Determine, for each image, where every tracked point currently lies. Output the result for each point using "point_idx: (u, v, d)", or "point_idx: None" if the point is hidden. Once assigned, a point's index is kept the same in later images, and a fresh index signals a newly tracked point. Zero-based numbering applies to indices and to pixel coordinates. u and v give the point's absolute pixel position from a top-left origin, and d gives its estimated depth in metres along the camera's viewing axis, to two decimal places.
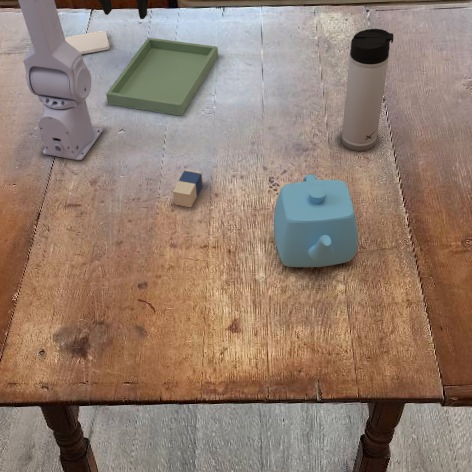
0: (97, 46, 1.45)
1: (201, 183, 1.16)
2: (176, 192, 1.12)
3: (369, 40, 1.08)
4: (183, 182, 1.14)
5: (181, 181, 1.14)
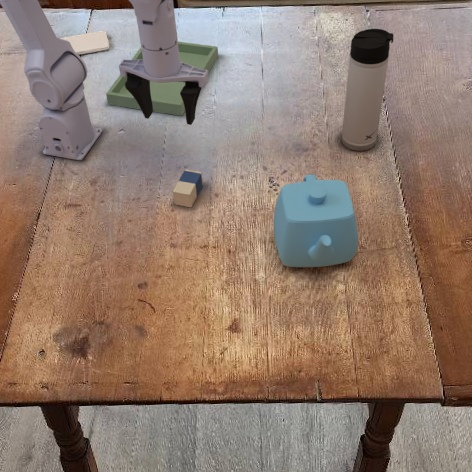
0: (97, 46, 1.45)
1: (201, 183, 1.16)
2: (176, 192, 1.12)
3: (369, 40, 1.08)
4: (183, 182, 1.14)
5: (181, 181, 1.14)
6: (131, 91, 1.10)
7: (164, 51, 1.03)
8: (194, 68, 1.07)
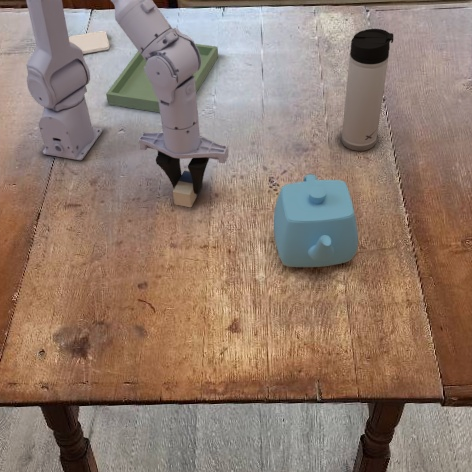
0: (97, 46, 1.45)
1: None
2: (176, 192, 1.12)
3: (369, 40, 1.08)
4: (183, 182, 1.14)
5: (181, 181, 1.14)
6: (162, 166, 1.10)
7: (185, 130, 1.03)
8: (214, 143, 1.07)
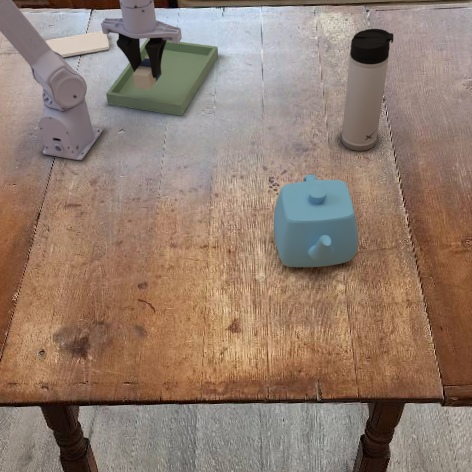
0: (97, 46, 1.45)
1: None
2: (136, 74, 1.24)
3: (369, 40, 1.08)
4: (143, 67, 1.25)
5: (141, 66, 1.25)
6: (122, 48, 1.21)
7: (140, 9, 1.14)
8: (168, 26, 1.19)
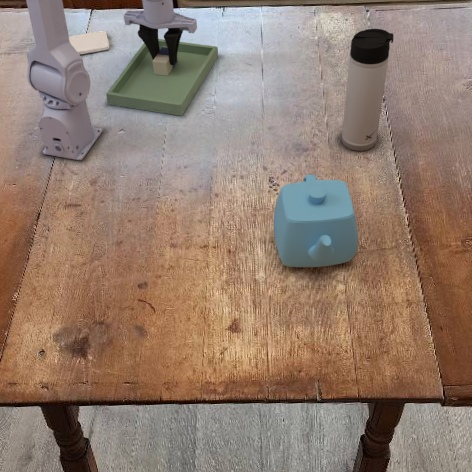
0: (97, 46, 1.45)
1: None
2: (155, 61, 1.36)
3: (369, 40, 1.08)
4: (161, 55, 1.37)
5: (159, 54, 1.38)
6: (143, 38, 1.33)
7: (160, 1, 1.26)
8: (185, 17, 1.31)
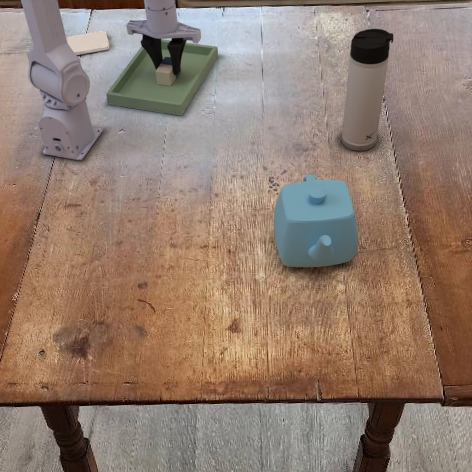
0: (97, 46, 1.45)
1: (180, 67, 1.38)
2: (158, 71, 1.34)
3: (369, 40, 1.08)
4: (164, 65, 1.35)
5: (163, 64, 1.35)
6: (145, 48, 1.31)
7: (164, 11, 1.24)
8: (189, 27, 1.29)
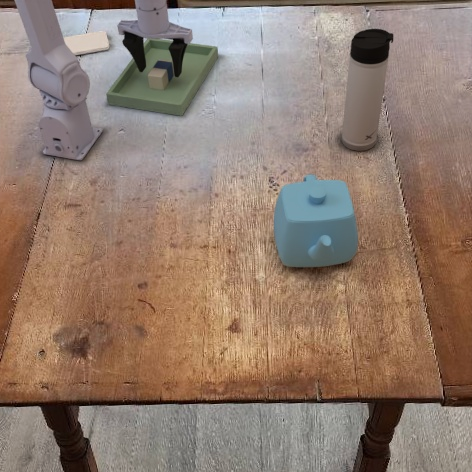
0: (97, 46, 1.45)
1: (172, 71, 1.37)
2: (150, 75, 1.33)
3: (370, 40, 1.08)
4: (157, 69, 1.34)
5: (155, 68, 1.34)
6: (127, 47, 1.30)
7: (155, 11, 1.23)
8: (180, 27, 1.27)
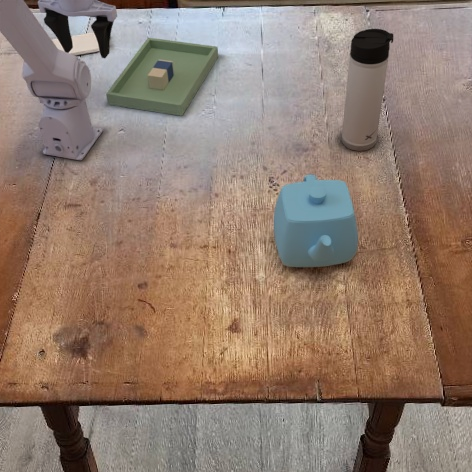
0: (97, 46, 1.45)
1: (172, 71, 1.37)
2: (150, 75, 1.33)
3: (369, 40, 1.08)
4: (157, 69, 1.34)
5: (155, 68, 1.34)
6: (49, 26, 1.23)
7: None
8: (104, 4, 1.20)
